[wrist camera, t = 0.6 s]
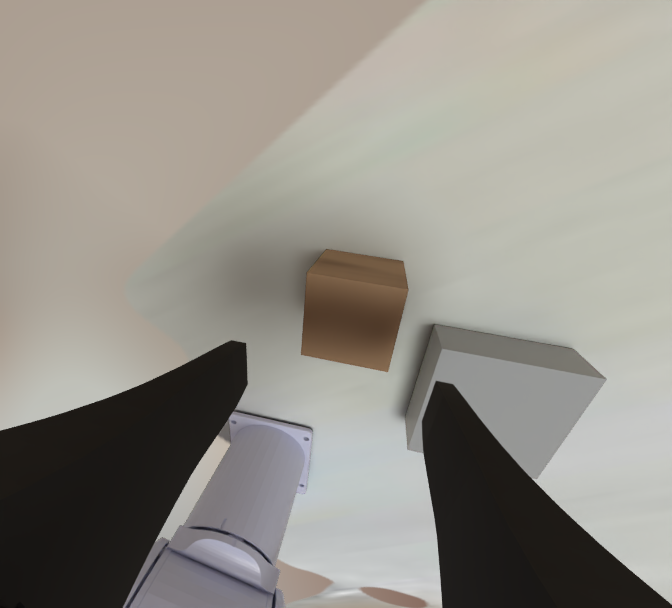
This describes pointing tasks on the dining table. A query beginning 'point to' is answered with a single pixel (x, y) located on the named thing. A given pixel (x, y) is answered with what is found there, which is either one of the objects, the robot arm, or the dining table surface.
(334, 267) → the block
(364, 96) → the dining table surface
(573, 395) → the base
